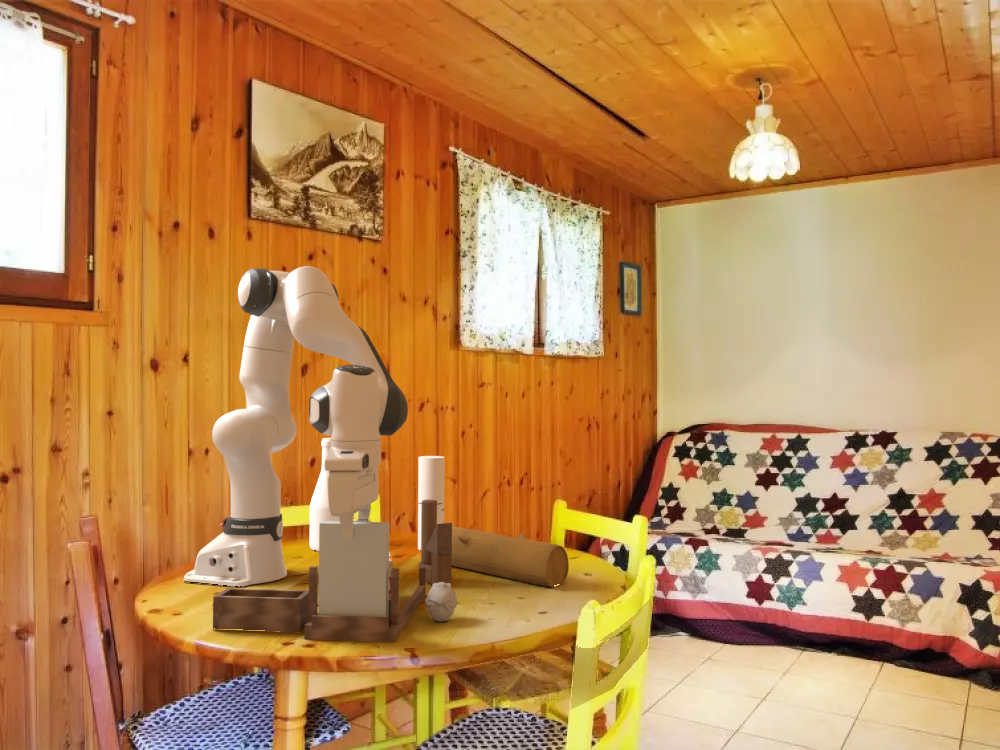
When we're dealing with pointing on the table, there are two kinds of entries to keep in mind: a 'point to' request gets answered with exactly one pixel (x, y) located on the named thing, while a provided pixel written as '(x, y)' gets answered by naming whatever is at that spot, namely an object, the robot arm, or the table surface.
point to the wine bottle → (320, 500)
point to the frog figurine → (441, 601)
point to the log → (509, 556)
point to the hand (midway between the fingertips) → (355, 534)
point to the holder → (261, 609)
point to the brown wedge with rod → (435, 545)
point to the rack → (361, 625)
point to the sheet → (354, 570)
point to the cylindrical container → (431, 486)
